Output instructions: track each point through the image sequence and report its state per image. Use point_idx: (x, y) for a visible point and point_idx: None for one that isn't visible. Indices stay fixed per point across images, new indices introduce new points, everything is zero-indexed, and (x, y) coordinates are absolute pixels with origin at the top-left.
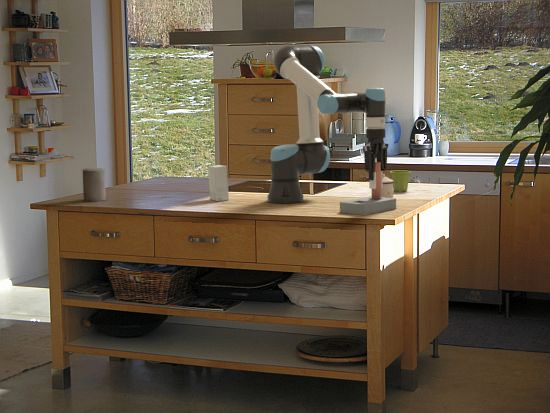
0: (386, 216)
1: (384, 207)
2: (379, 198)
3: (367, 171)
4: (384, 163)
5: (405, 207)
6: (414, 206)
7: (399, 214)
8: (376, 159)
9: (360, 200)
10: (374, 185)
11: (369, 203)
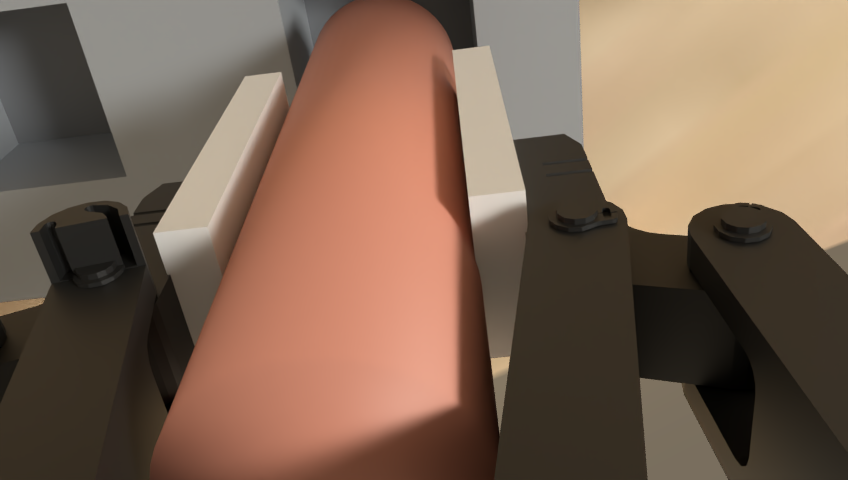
0: None
1: None
2: (478, 38)
3: (74, 241)
4: (730, 457)
5: (713, 184)
6: (837, 204)
7: None
8: (497, 470)
9: (90, 11)
10: None
11: (37, 288)
